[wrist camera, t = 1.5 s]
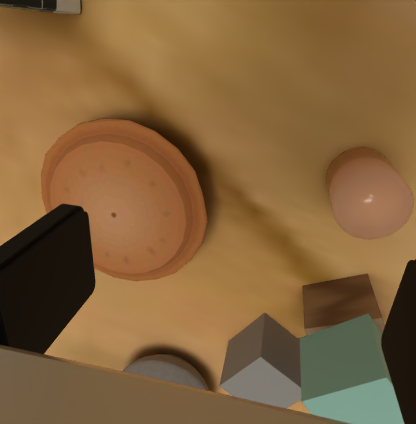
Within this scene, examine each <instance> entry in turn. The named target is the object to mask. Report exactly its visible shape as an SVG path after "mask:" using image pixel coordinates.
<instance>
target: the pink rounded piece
mask: <svg viewBox="0 0 416 424" xmlns="http://www.w3.org/2000/svg"><path fill="white" fill-rule="evenodd" d="M326 184H327V188H328V192H329V196H330V200H331V204H332V208H333V212H334V216H335V219H336V221H337V223H338V224H339V226H340V227H341V228H342V229H343V230H344V231H345V232H347V233H348V234H350V235H352V236H355V237H358V238H362V239H378V238H382V237H386V236H388V235H390V234H393V233H394V232H396V231H397V230H399V229H400V228H401V227H402V226H403V225H404V224H405V223H406V222H407V221H408V219H409V217H410V215H411V213H412V210H413V204H414V201H413V195H412V192H411V190H410V188H409V186H408V185H407V184H406V182H405V181H404V180H403V179H402V178H401V176H400V175H399V174H398V173H397V172H396V170H395V169H394V168H393V167H392V165H391V164H390V163H389V162H388V161H387V159H386V158H385V157H384V156H383V155H382V154H381V153H379V152H377V151H375V150H373V149H370V148H354V149H350V150H347V151H345V152H343V153H341V154H340V155H338V156H337V157H336V158H335V159H334V160H333V161H332V163H331V164H330V166H329V168H328V170H327V174H326Z"/></svg>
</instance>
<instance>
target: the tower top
mask: <svg viewBox="0 0 416 424" xmlns="http://www.w3.org/2000/svg"><path fill="white" fill-rule="evenodd" d="M381 337H382V333H381V331H380V330H379V328H378V327H377V325H376V324H375V322H374V321H373V319H372V318H371V316H370V315H369V313H368V314H365V315H362V316H359V317H357V318H354V319H351V320H348V321H346V322H343V323H340V324H338V325H335V326H332V327H329V328H327V329H324V330H321V331H318V332H316V333H313V334H310V335H307V336H305V337H302V338H300V367H301V402H302V403H303V404H304V405H305V407H306V408H307V409H308V410H309V412H310V413H311V414H312V415H316V416H320V417H325V418H329V419H333V420H338V421H342V422H346V423H351V424H404V421H403V418H402V414H401V411H400V408H399V404H398V401H397V398H396V394H395V391H394V388H393V384H392V381H391V378H390V374H389V371H388V368H387V364H386V361H385V358H384V354H383V351H382V347H381Z"/></svg>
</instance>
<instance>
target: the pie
mask: <svg viewBox="0 0 416 424" xmlns="http://www.w3.org/2000/svg"><path fill="white" fill-rule="evenodd" d="M41 184H42V198H43V202H44V205H45V209H46V213H47V214H48V213H49V212H50V211H52V210H53V209H55V208H56V207H58V206H59V205H61V204H70V205H77V206H81V207H82V208H83V209H84V211H86V212H87V213H88V216H89V224H90V234H91V244H92V253H93V263H94V268H95V269H97V270H99V271H102V272H104V273H106V274H108V275H110V276H112V277H115V278H120V279H126V280H132V281H143V280H154V279H159V278H162V277H165V276H167V275H170V274H173V273H176V272H177V271H178V270H179V269H180V268H182V267H183V266H184V265H185V264H186V263H188V262H189V261H190V260H191V259H192V257H193V256H194V254H195V253H196V251H197V250H198V248H199V247H200V245H201V244H202V242H203V239H204V234H205V230H206V226H207V222H208V220H207V214H206V208H205V202H204V196H203V193H202V190H201V187H200V184H199V181H198V178H197V175H196V172H195V170H194V169H193V168H192V166H191V165H190V164H189V162H188V161H187V160H186V158H185V157H184V156H183V155H182V153H181V152H180V151H179V149H178V148H176V147H175V146H174V145H173V144H171V143H170V142H169V141H167V140H166V139H165V138H164V137H162V136H161V135H160V134H158V133H157V132H156V131H154V130H152V129H149V128H147V127H145V126H142V125H140V124H138V123H135V122H133V121H131V120H122V119H105V118H103V119H98V120H94V121H89V122H85V123H80V124H78V125H77V126H75V127H74V128H72V129H71V130H69V131H68V132H67V133H65V134H64V135H62V136H61V137H60V138H59V139H58V140H57V141H56V143H55V144H54V145H53V146H52V147H51V148H50V150H49V151H48V152H47V153H46V156H45V160H44V164H43V169H42V173H41Z"/></svg>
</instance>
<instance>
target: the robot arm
mask: <svg viewBox="0 0 416 424" xmlns="http://www.w3.org/2000/svg"><path fill="white" fill-rule="evenodd" d="M94 288H95V273H94V263H93V253H92V244H91V234H90V224H89V216H88V213H87V212H86V211H84V209H83V208H82V207H81V206H77V205H70V204H61V205H59V206H58V207H56V208H55V209H53V210H52V211H50V212H49V213H48V214H46V215H45V216H43V217H42V218H40V219H39V220H37V221H36V222H35V223H33V224H32V225H30V226H29V227H27V228H26V229H24V230H23V231H21V232H20V233H19V234H17V235H16V236H14V237H13V238H11V239H10V240H8V241H7V242H6V243H4V244H3V245H1V246H0V424H351V423H346V422H342V421H338V420H333V419H329V418H325V417H320V416H316V415H312V414H308V413H303V412H299V411H295V410H290V409H286V408H282V407H277V406H273V405H269V404H264V403H260V402H256V401H251V400H247V399H242V398H238V397H234V396H229V395H225V394H220V393H216V392H211V391H207V390H203V389H198V388H194V387H189V386H185V385H181V384H176V383H172V382H167V381H163V380H158V379H154V378H149V377H145V376H140V375H136V374H131V373H127V372H122V371H118V370H113V369H109V368H104V367H100V366H95V365H91V364H86V363H81V362H77V361H72V360H68V359H63V358H59V357H54V356H49V355H45V354H44V353H45V352H46V350H47V349H48V348H49V347H50V345H51V344H52V343H53V342H54V340H55V339H56V338H57V337H58V335H59V334H60V333H61V332H62V330H63V329H64V328H65V327H66V325H67V324H68V323H69V322H70V320H71V319H72V318H73V317H74V315H75V314H76V313H77V312H78V310H79V309H80V308H81V307H82V305H83V304H84V303H85V302H86V300H87V299H88V298H89V297H90V295H91V294H92V293H93V291H94ZM381 347H382V351H383V354H384V358H385V361H386V364H387V368H388V371H389V374H390V378H391V381H392V384H393V388H394V391H395V394H396V398H397V401H398V404H399V408H400V411H401V414H402V418H403V421H404V424H416V260H410V261H409V262H408V264H407V266H406V269H405V272H404V274H403V277H402V280H401V283H400V286H399V288H398V291H397V294H396V297H395V300H394V302H393V305H392V308H391V311H390V314H389V316H388V319H387V322H386V325H385V328H384V330H383V333H382V337H381Z"/></svg>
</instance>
